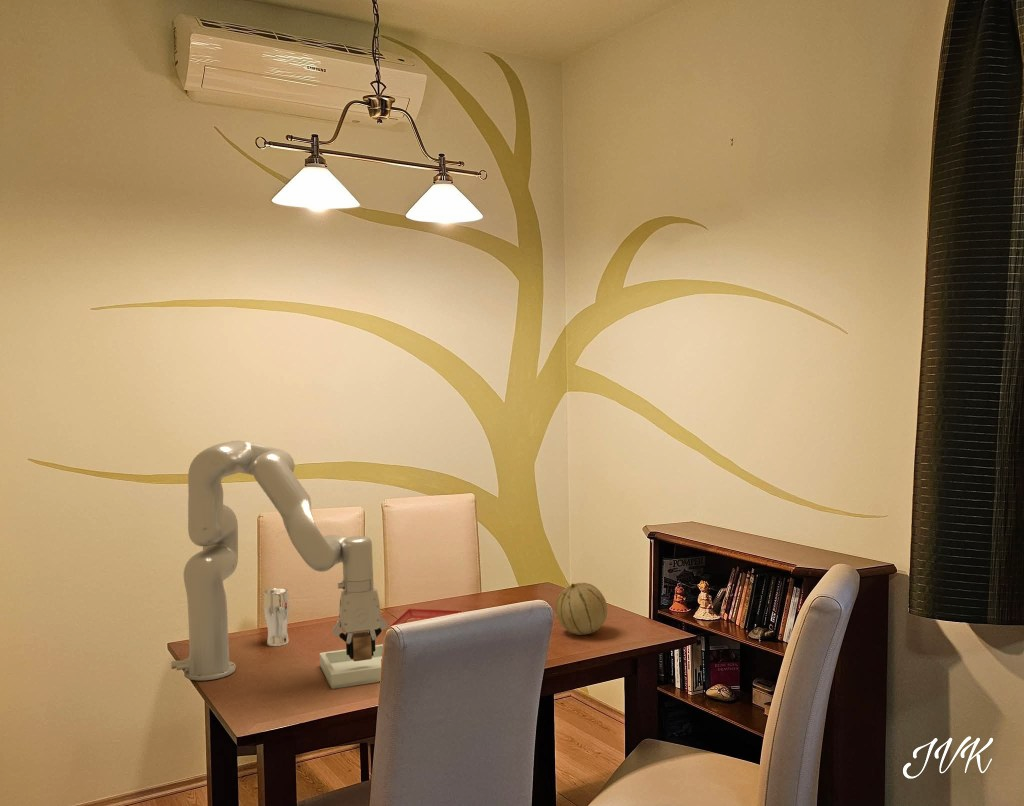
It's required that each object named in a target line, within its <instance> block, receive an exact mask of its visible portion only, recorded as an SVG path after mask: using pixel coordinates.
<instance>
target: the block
mask: <svg viewBox="0 0 1024 806" xmlns="http://www.w3.org/2000/svg"><path fill="white" fill-rule="evenodd" d="M351 640H352V643H353V661H354V662H355V661H362V660H369V659H372V651H371V635H370V634H369V631H362V632H354V633H353V634H352V639H351Z"/></svg>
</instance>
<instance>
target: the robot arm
mask: <svg viewBox="0 0 1024 806" xmlns="http://www.w3.org/2000/svg"><path fill="white" fill-rule="evenodd" d="M188 468H189V469H188V474H187V481H188V482H187V484H188V485H187V487H188V491H187V492H188V498H187V499H188V501H187V503H188V504H187V518H188V520H187V531H188V536H189V539H190V541H191V542H192V543H193V544H194V545H195V546H199V547H202V550H200V551H199V552H197V553H195V554H194V555H192V556H190V558H189V559H188V561H187V562H186V564H185V565H184V569H183V583H184V587H185V592H186V599H187V617H188V639H189V641H188V642H189V654H188V657H186V658H185V657H184V659H183V660H173V661H171V670H176V671H182V670H184V671H183V674H184V678H185V679H188V680H191V681H197V682H198V681H212V680H217V679H221V678H224V677H227V676H229V675H232V674H234V672H235V671H236V667H237V665H236V663H234V661H232V660H231V661H230V650H229V649H230V648H229V647H230V646H229V622H228V621H229V620H228V619H229V616H228V602H227V595H226V591H225V590H226V589H225V587H224V581H225V580H227V579H228V578H229V577H231V576H232V575H233V574H234V572H235V571H236V569H237V567H238V561H239V524H238V522H239V521H238V518H237V515H236V513H235V511H234V510H233V509H232V508H231V507H229V506H228V505H226V504H224V489H223V486H222V480H223V479H224V478H225V477H229V476H232V475H236V474H239V473H240V474H245V475H250V476H253V477H254V479H255V481H256V482H257V483H258V485H259V487H260V488H261V489H262V491H263V492H264V493H265V494H266V496H267V497H268V499H269V500H270V502H271V503H272V504H273V507H274V508H275V510H277V512H278V514H279V515H280V517H281V518H282V519H281V520H282V521H283V525H284V528H285V530H286V533H287V534H288V537H289V540H290V541H291V543H292V546H293V547H294V548H295V550H296V551H297V554H298V555H300V557H301V558H302V559H303V561H304V562H305V563H306V565H307V566H308V567H309V568H311V569H312V570H313V571H315V572H321V573H322V572H327V571H329V570H330V569H332V568H333V567H335V566H336V565H338V564H340V563H341V564H342V575H343V576H342V581H341V582H339V583H337V589H342V591H341V593H340V597H339V610H338V611H339V612H338V614H339V615H338V620H337V622H336V623H335V625H334V626H333V628H332V629H331V632H332V634H333V635H335V636H336V637H339V638H340V639H341V640H342V641H344V642H345V649H346V653H347V655H349V657H350V659H353V643H352V640H351V639H352V634H353V633H356V632H363V631H368V633H369V634H370V635H371V651H372V656H373V655H374V654H373V652H374V651H375V645H376V640H377V639H378V637H379V635H380V634H381V633H382V631H384V630H385V629H386V628H388V627H389V625H388V622H387V621H386V620H385V619H384V617H383V616H382V614H381V606H380V599H379V593H378V589H377V588H375V587H374V565H373V563H374V562H373V561H374V560H373V543H372V539H371V538H370V537H369V536H365V535H364V536H363V535H362V536H361V535H357V536H356V535H353V536H342V535H335V534H328V535H324V536H323V534H322V533H321V531H320V530H319V528H318V527H317V524H316V523H315V521H314V518H313V513H312V500H311V496H310V495H309V493H308V492H307V490H306V489H305V488H304V487H303V485H302V484H301V482H300V481H299V480H298V478H297V477H296V475H295V474H294V471H295V468H296V467H295V461H294V459H293V456H292V455H290V453H289V452H287V451H285V450H284V449H280V448H276V447H271V446H267V445H262V444H258V443H255V442H249V441H245V440H231V441H227V442H221V443H218V444H214V445H212V446H210V447H207V448H206V449H204V450H202V451H201V452H199V453H198V454H197V455H196V456H195V457H193V460H191V463H190V464H189V467H188Z"/></svg>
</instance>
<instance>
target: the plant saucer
mask: <svg viewBox="0 0 1024 806" xmlns="http://www.w3.org/2000/svg"><path fill="white" fill-rule="evenodd" d="M458 612H463V613H464V610H450V609H449V610H448V609H431V608H430V609H428V608H427V609H426V608H408V609H406V610H405V611H404V612H403V613H402V614H401V615H400V616H398V618H396V619H395V620H394V621H393V622H392V623H391V624H389V625H388V627H389V628H390V627H391V626H392V625H395V624H398V623H403V622H407V620H408V619H410V618H416V619H414V620H420V619H425V618H431V617H436V616H442V615H447V614H453V613H458ZM417 618H420V619H417ZM414 620H409V621H414Z"/></svg>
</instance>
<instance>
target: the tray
mask: <svg viewBox="0 0 1024 806" xmlns="http://www.w3.org/2000/svg"><path fill="white" fill-rule="evenodd" d="M383 644H384V643H382V644H375V651H374V652H373V654H374V655H373V656H372V659H369V660H362V661H355V662H354V661H353V659H350V657H349V655H347V653H346V648H344V649H339V650H331V651H326V652H325V651H324V652H319V666H320V669H321V671H322V672H323V675H324V676H325V679H326V681H327V682H328V685H329V687H330V688H331V690H336V689H341V688H347V687H354V686H360V685H361V686H362V685H368V684H373V683H380V682H379V679H380V671H381V659H382V652H383Z"/></svg>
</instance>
